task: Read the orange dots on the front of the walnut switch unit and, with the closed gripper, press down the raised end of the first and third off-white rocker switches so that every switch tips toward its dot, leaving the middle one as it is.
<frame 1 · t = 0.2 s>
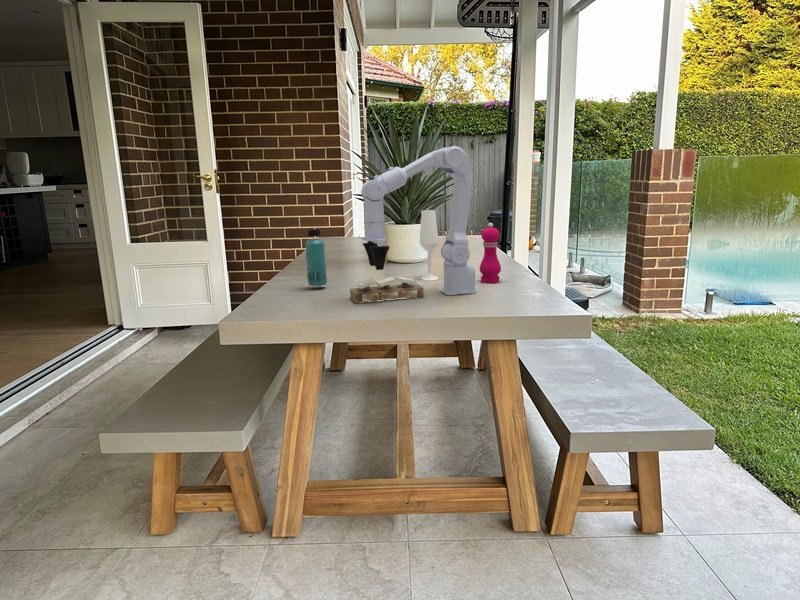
hand: (376, 267, 164), 10 cm above the table, tool pointing down, fingers open, 7 cm apart
beverage bottle: (317, 289, 185), on the table
champagne flute: (429, 279, 196), on the table
switch 3: (366, 283, 165), point 5 cm above the table, hinge at 12.0°
pepper mill: (490, 282, 187), on the table
switch 1: (405, 280, 168), point 5 cm above the table, hinge at -12.0°
switch 2: (385, 281, 167), point 5 cm above the table, hinge at 12.0°
switch unit: (386, 297, 168), on the table
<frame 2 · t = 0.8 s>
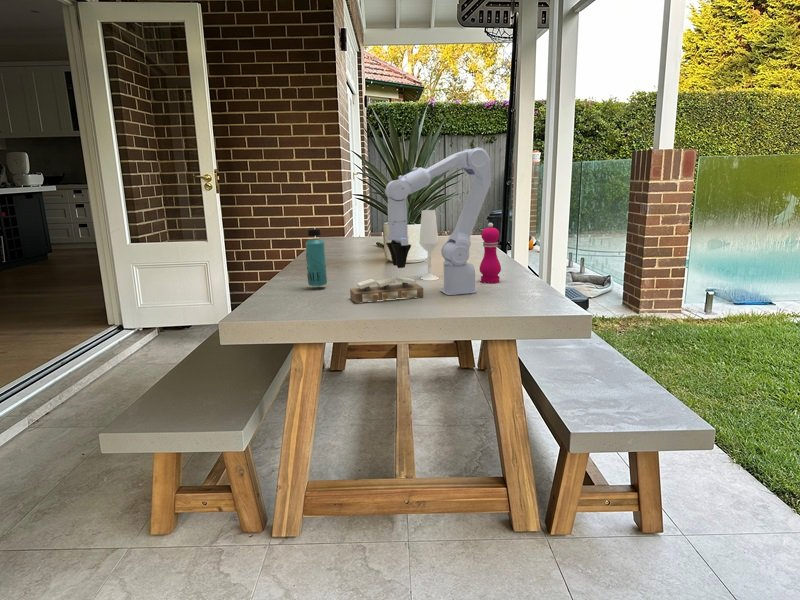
hand: (399, 266, 167), 9 cm above the table, tool pointing down, fingers open, 4 cm apart
nothing on the table moved.
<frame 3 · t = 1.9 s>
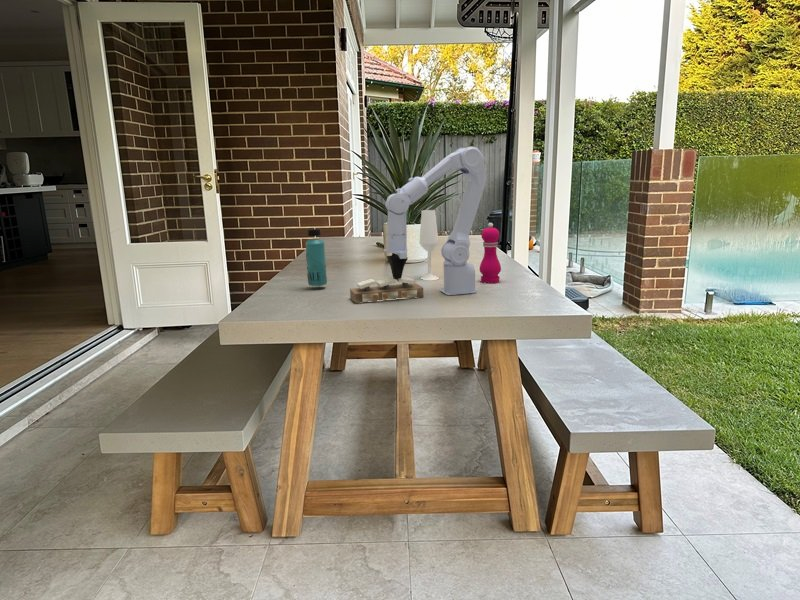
hand: (397, 279, 168), 6 cm above the table, tool pointing down, fingers closed, pressing on switch 1
switch 1: (405, 280, 168), point 5 cm above the table, hinge at -10.3°, touching gripper
everything else where it was.
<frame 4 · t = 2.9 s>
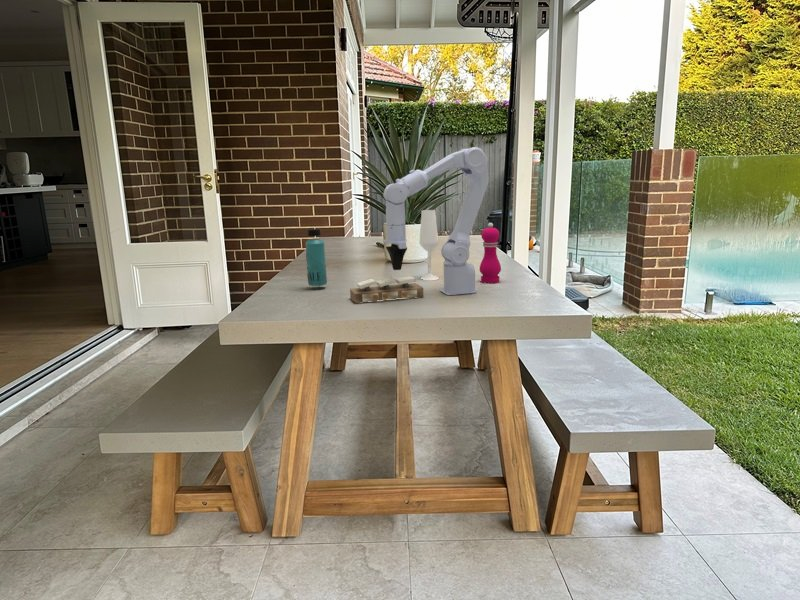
hand: (397, 269, 167), 8 cm above the table, tool pointing down, fingers closed
switch 1: (405, 280, 168), point 5 cm above the table, hinge at 5.1°
switch 2: (385, 281, 167), point 5 cm above the table, hinge at 11.2°
everything else where it was.
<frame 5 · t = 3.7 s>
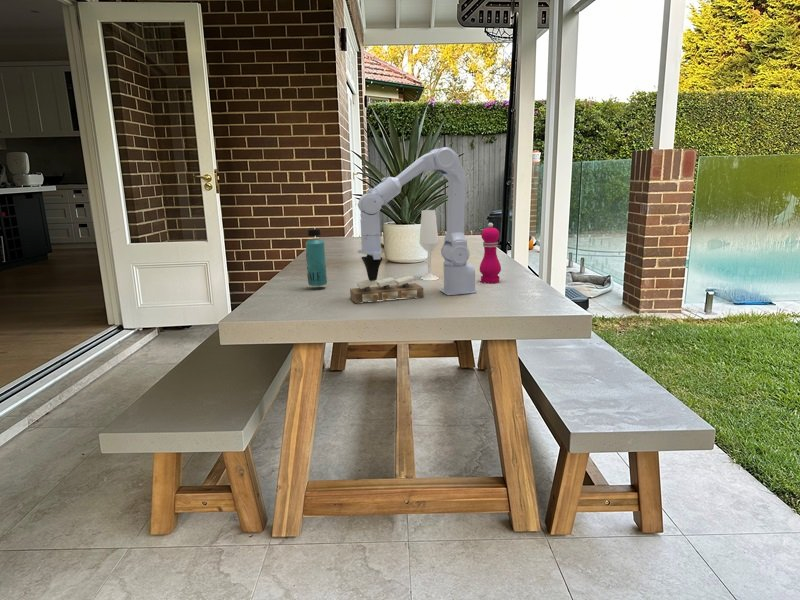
hand: (372, 280, 165), 6 cm above the table, tool pointing down, fingers closed, pressing on switch 3
switch 3: (366, 283, 165), point 5 cm above the table, hinge at 11.9°, touching gripper
switch 1: (404, 280, 168), point 5 cm above the table, hinge at 12.3°
switch 2: (385, 281, 167), point 5 cm above the table, hinge at 10.6°
everything else where it was.
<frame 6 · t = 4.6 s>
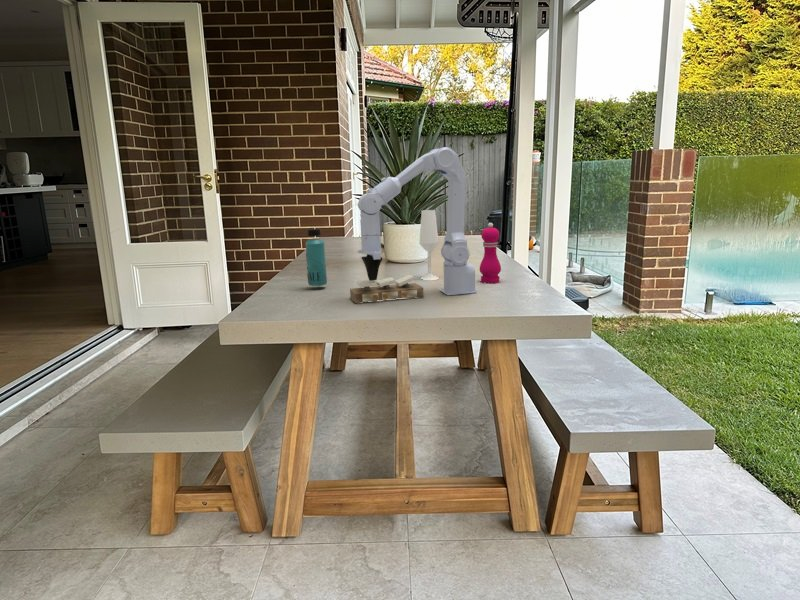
hand: (372, 280, 165), 6 cm above the table, tool pointing down, fingers closed
switch 3: (366, 283, 165), point 5 cm above the table, hinge at -0.2°
switch 1: (404, 280, 168), point 5 cm above the table, hinge at 18.5°
switch 2: (385, 281, 167), point 5 cm above the table, hinge at 10.1°
everything else where it was.
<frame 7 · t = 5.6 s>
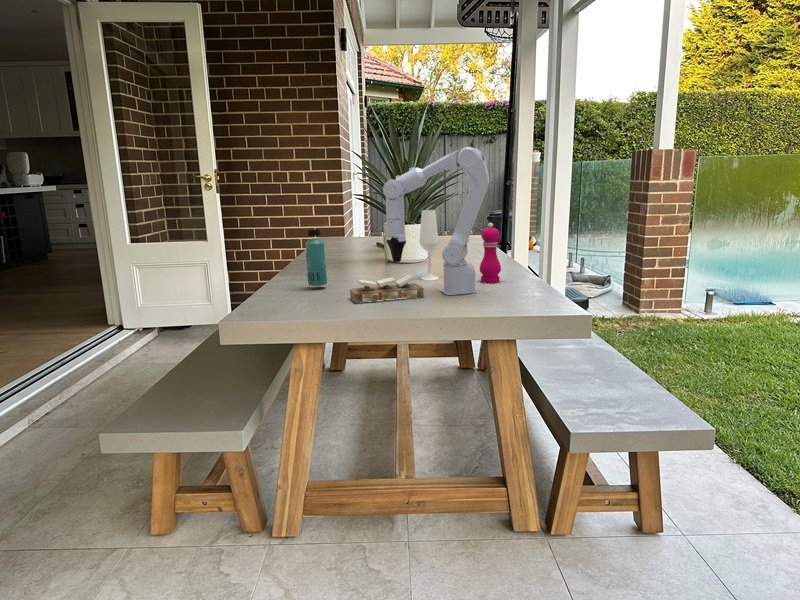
hand: (396, 261, 176), 9 cm above the table, tool pointing down, fingers closed
switch 3: (367, 283, 165), point 5 cm above the table, hinge at -12.0°
switch 1: (404, 280, 168), point 5 cm above the table, hinge at 23.6°
switch 2: (385, 281, 167), point 5 cm above the table, hinge at 9.7°
everything else where it was.
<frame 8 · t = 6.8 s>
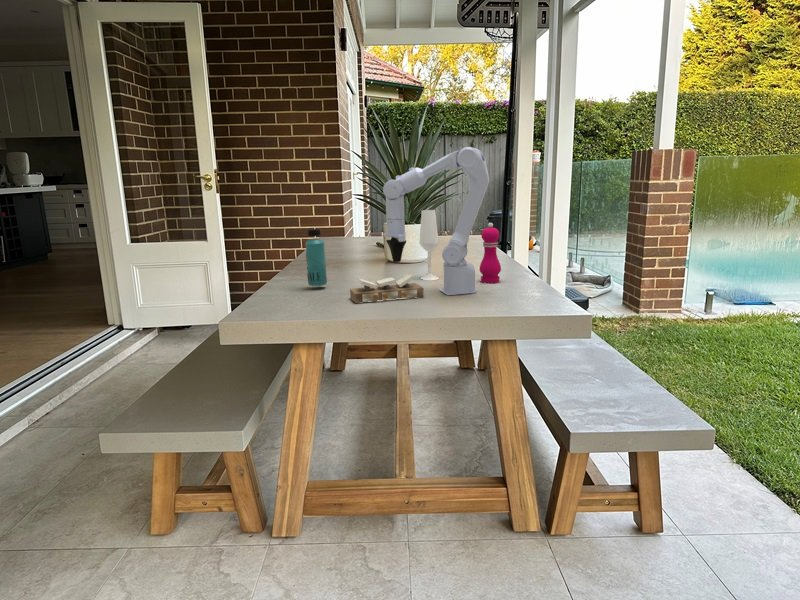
hand: (396, 261, 176), 9 cm above the table, tool pointing down, fingers closed
switch 3: (367, 283, 165), point 5 cm above the table, hinge at -21.9°
switch 1: (404, 280, 168), point 5 cm above the table, hinge at 27.9°
switch 2: (385, 281, 167), point 5 cm above the table, hinge at 9.4°
everything else where it was.
at the end: switch 1 at +28° (first picture: -12°); switch 2 at +9° (first picture: +12°); switch 3 at -23° (first picture: +12°) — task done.
